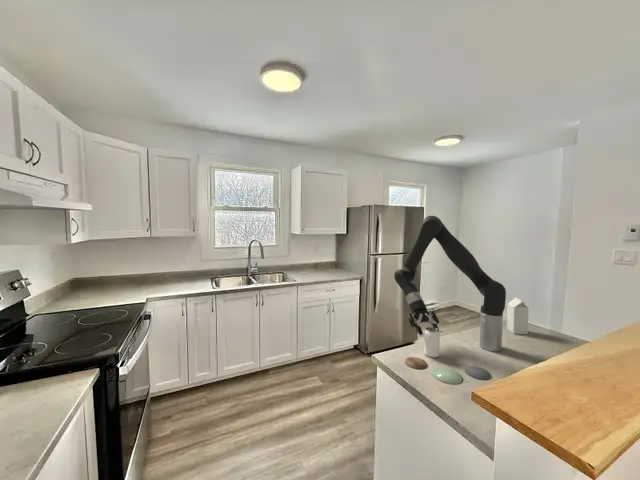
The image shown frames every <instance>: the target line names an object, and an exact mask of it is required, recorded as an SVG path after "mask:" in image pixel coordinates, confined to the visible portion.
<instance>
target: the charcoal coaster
mask: <svg viewBox="0 0 640 480" xmlns="http://www.w3.org/2000/svg"><path fill="white" fill-rule="evenodd" d="M464 372H465V374H466V375H467V376H469V377H471V378H473V379H475V380H476V379H477V380H483V381H485V380H486V381H487V380H489V379H490V378H491V373H490V372H489V371H488V370H487V369H484V368H482V367H480V366H476V365H475V366H474V365H469V366H466V367H464Z"/></svg>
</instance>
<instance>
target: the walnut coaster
mask: <svg viewBox="0 0 640 480" xmlns="http://www.w3.org/2000/svg"><path fill="white" fill-rule="evenodd" d="M404 363H405V365H406V366H407V367H409V368H411V369H415V370H423V369H424V370H425V369H426V368H427V366H428V363H427V361H425V360H424V359H422V358H419V357H415V356H410V357H409V356H408V357H407V358H405V360H404Z"/></svg>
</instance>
